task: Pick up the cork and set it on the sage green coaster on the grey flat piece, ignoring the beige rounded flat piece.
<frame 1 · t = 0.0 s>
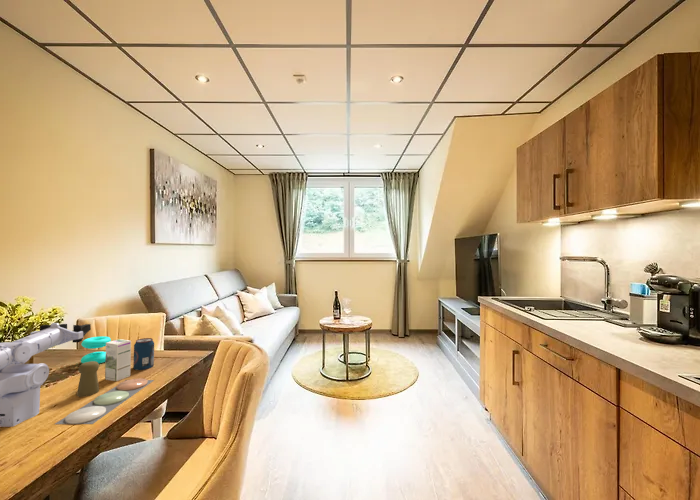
hand: (77, 326, 109), 22 cm above the table, tool horizontal, fingers open, 7 cm apart
syrup box: (117, 380, 118), on the table
donuts: (95, 362, 137), on the table
terracotta coaster: (132, 385, 112), resting on grey flat piece
beige rounded flat piece: (86, 415, 91), resting on grey flat piece
cork: (88, 396, 105), on the table
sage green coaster: (111, 398, 101), resting on grey flat piece
soda can: (143, 370, 129), on the table
grey flat piece: (111, 402, 101), on the table
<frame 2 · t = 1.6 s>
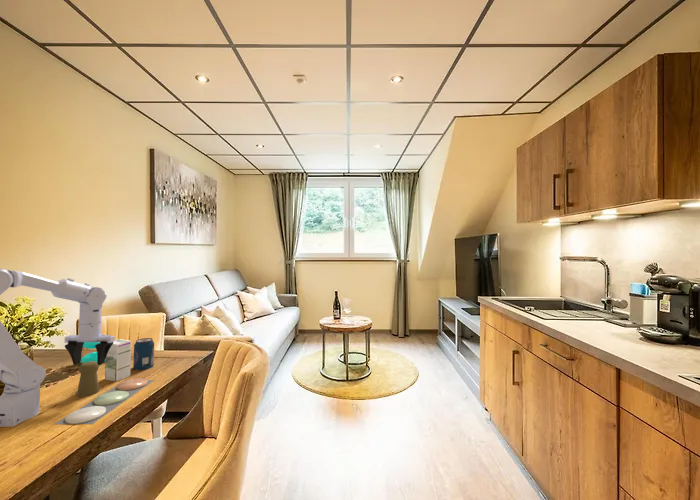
hand: (89, 364, 105), 10 cm above the table, tool pointing down, fingers open, 7 cm apart
nothing on the table moved.
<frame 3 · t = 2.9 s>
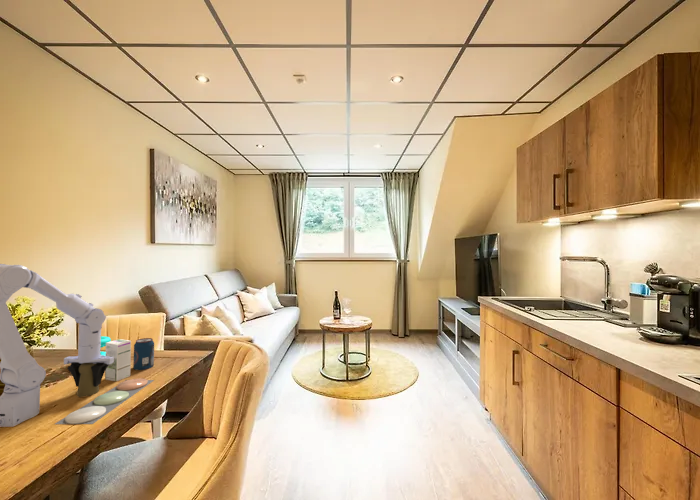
hand: (88, 385, 105), 3 cm above the table, tool pointing down, fingers closed on cork, 5 cm apart
cork: (88, 396, 105), on the table, touching gripper
everything else where it was.
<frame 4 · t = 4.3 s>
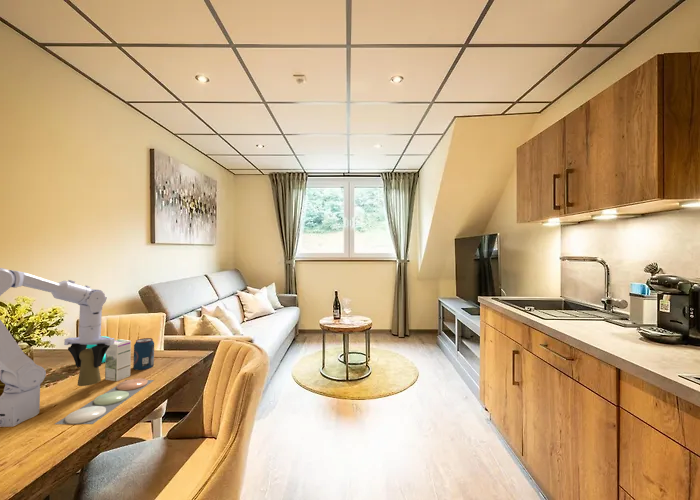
hand: (88, 366, 105), 10 cm above the table, tool pointing down, fingers closed on cork, 5 cm apart
cork: (89, 382, 106), point 4 cm above the table, touching gripper
everything else where it was.
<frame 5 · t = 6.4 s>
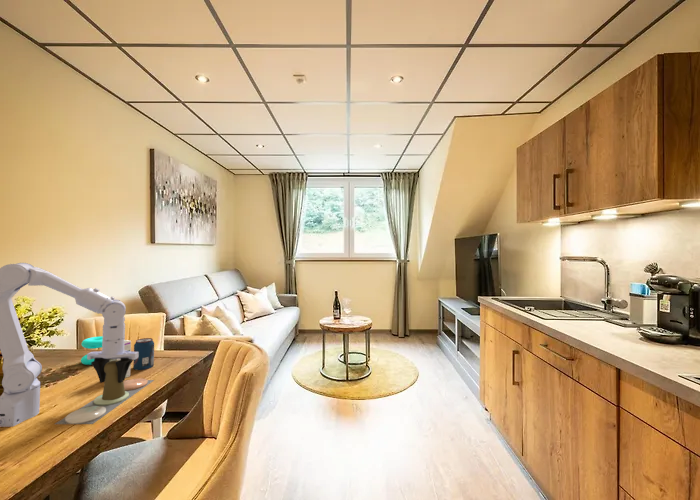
hand: (112, 381, 101), 6 cm above the table, tool pointing down, fingers closed on cork, 5 cm apart
cork: (113, 396, 102), point 1 cm above the table, touching gripper, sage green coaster
everything else where it was.
when the fingers open (6 cm above the table, at t = 6.5 s): cork stays where it is, resting on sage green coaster.
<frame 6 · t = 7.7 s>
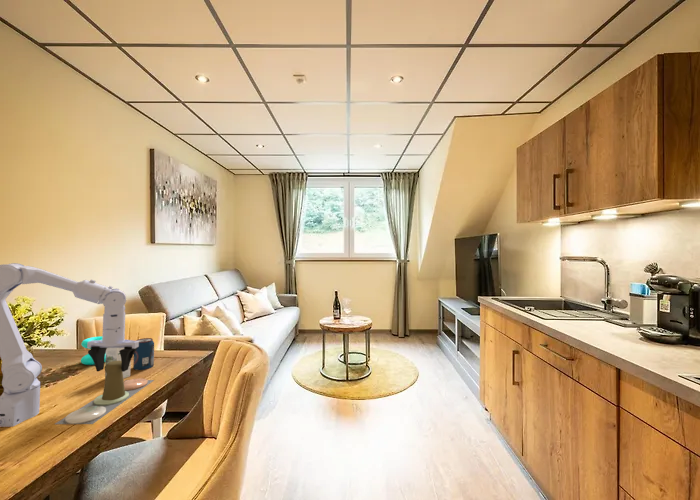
hand: (112, 370, 101), 10 cm above the table, tool pointing down, fingers open, 7 cm apart
cork: (113, 396, 102), point 1 cm above the table, touching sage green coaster
everything else where it was.
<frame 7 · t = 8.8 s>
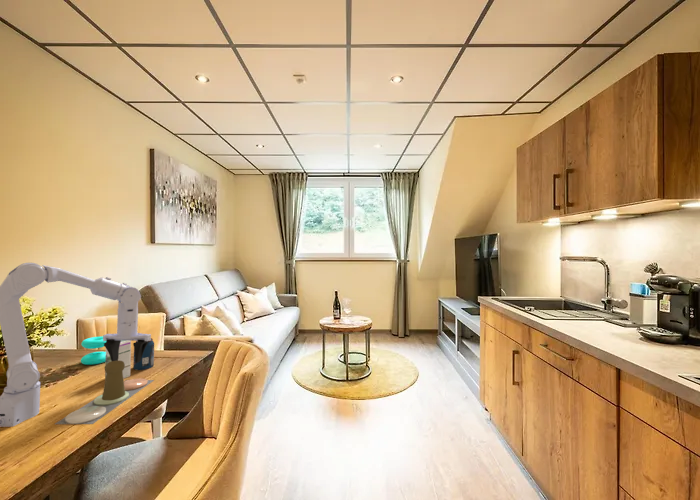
hand: (126, 361, 108), 10 cm above the table, tool pointing down, fingers open, 7 cm apart
nothing on the table moved.
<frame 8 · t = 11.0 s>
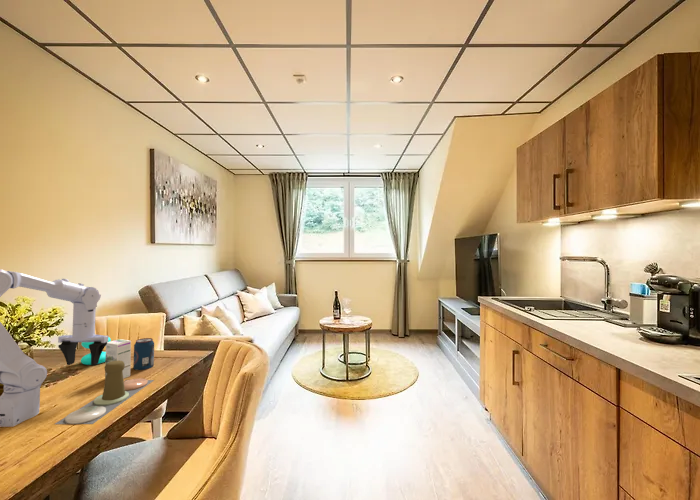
hand: (82, 364, 105), 10 cm above the table, tool pointing down, fingers open, 7 cm apart
nothing on the table moved.
at the end: cork 0.7 cm off-centre on the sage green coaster, point 0.4 cm above the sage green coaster's base; cork tilted 0°; the gripper is holding nothing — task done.
